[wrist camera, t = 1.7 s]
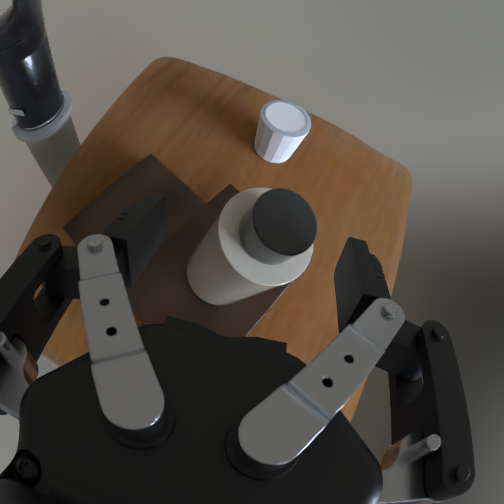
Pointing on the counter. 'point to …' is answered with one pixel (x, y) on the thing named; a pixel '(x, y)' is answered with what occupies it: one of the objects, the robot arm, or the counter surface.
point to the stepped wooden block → (172, 251)
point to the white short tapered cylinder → (280, 130)
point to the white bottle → (253, 246)
